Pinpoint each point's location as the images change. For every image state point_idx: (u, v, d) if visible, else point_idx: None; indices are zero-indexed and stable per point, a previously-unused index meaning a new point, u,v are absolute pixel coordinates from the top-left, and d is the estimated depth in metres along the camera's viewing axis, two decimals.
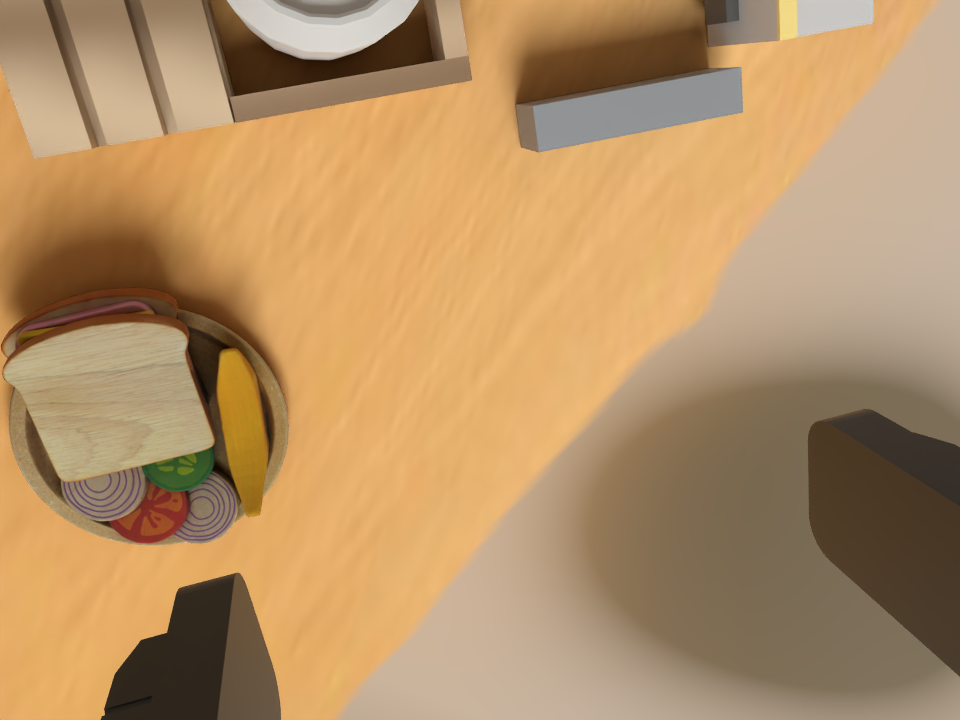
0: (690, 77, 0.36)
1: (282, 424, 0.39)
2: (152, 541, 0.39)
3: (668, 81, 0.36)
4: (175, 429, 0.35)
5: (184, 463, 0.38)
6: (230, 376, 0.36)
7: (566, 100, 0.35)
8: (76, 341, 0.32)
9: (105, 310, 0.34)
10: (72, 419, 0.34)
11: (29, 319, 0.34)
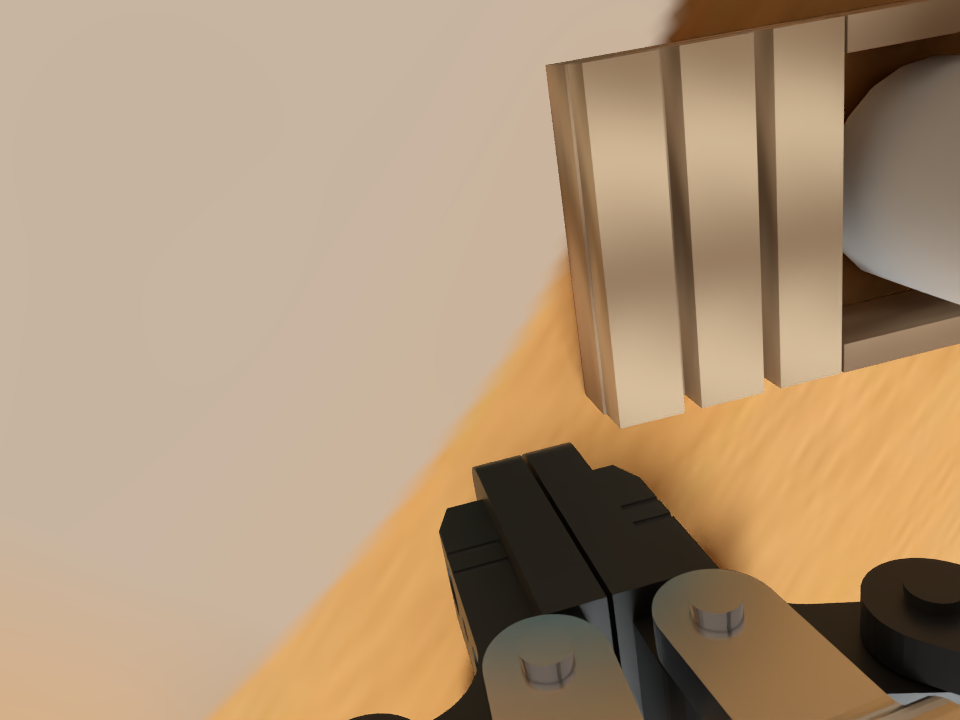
0: None
1: None
2: None
3: None
4: None
5: None
6: None
7: None
8: None
9: None
10: None
11: None
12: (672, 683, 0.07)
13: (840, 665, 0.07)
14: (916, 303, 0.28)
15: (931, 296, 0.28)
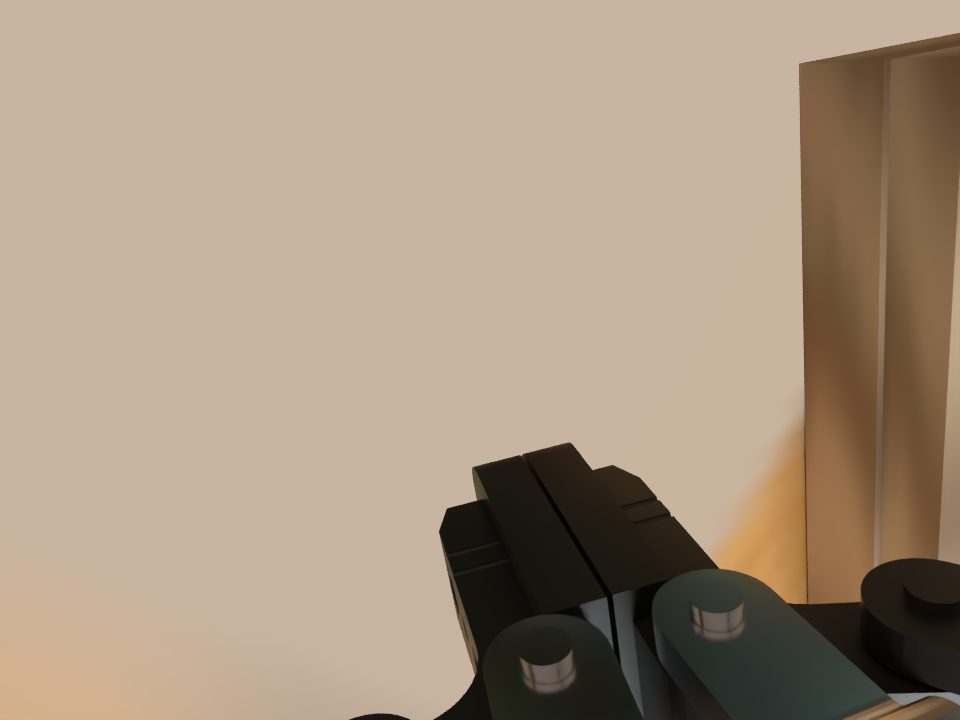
0: None
1: None
2: None
3: None
4: None
5: None
6: None
7: None
8: None
9: None
10: None
11: None
12: (672, 683, 0.07)
13: (840, 665, 0.07)
14: None
15: None
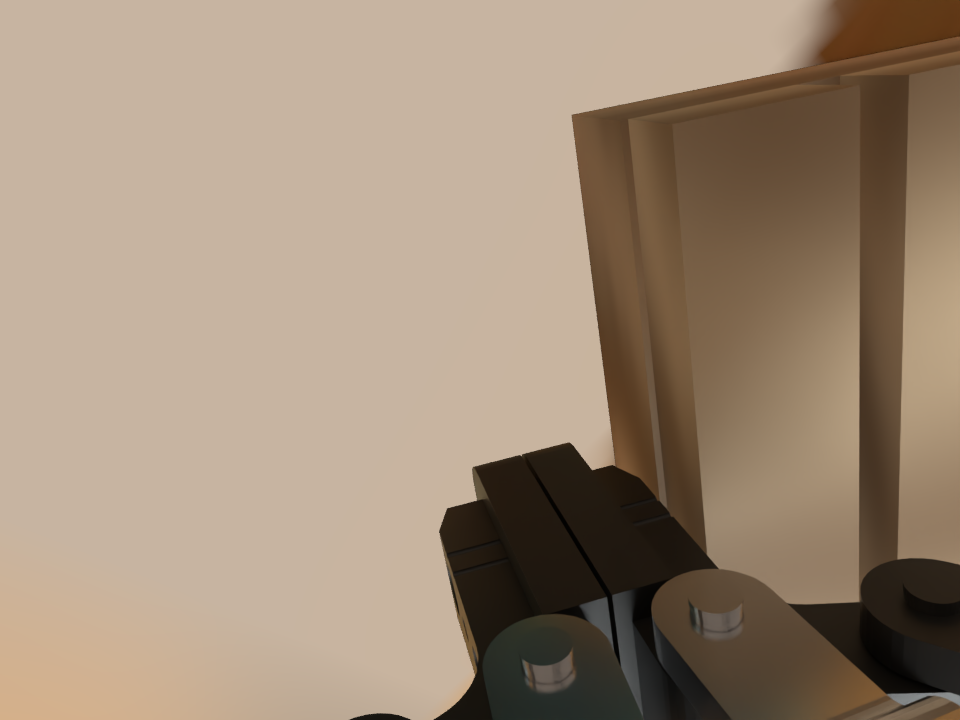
0: None
1: None
2: None
3: None
4: None
5: None
6: None
7: None
8: None
9: None
10: None
11: None
12: (672, 683, 0.07)
13: (840, 665, 0.07)
14: None
15: None
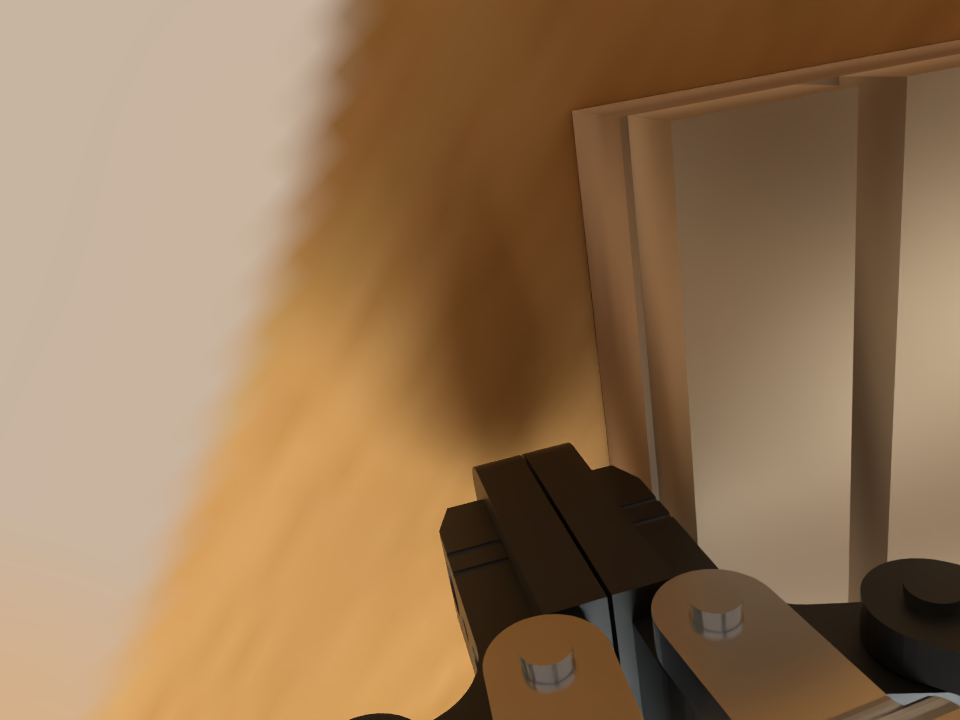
0: None
1: None
2: None
3: None
4: None
5: None
6: None
7: None
8: None
9: None
10: None
11: None
12: (671, 684, 0.07)
13: (839, 666, 0.07)
14: None
15: None
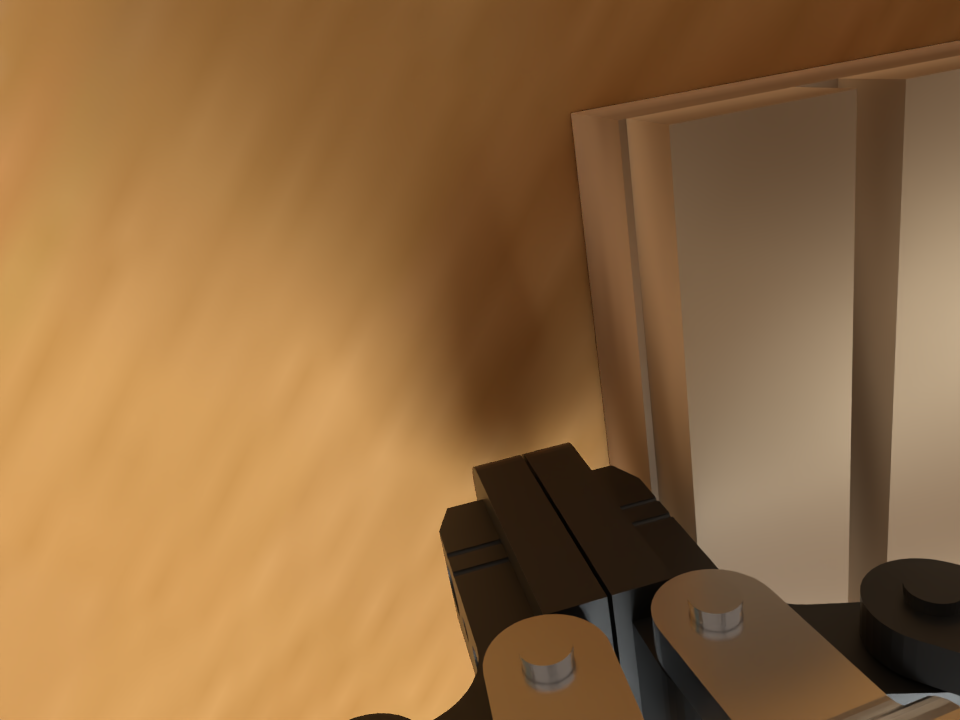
0: None
1: None
2: None
3: None
4: None
5: None
6: None
7: None
8: None
9: None
10: None
11: None
12: (671, 684, 0.07)
13: (839, 666, 0.07)
14: None
15: None
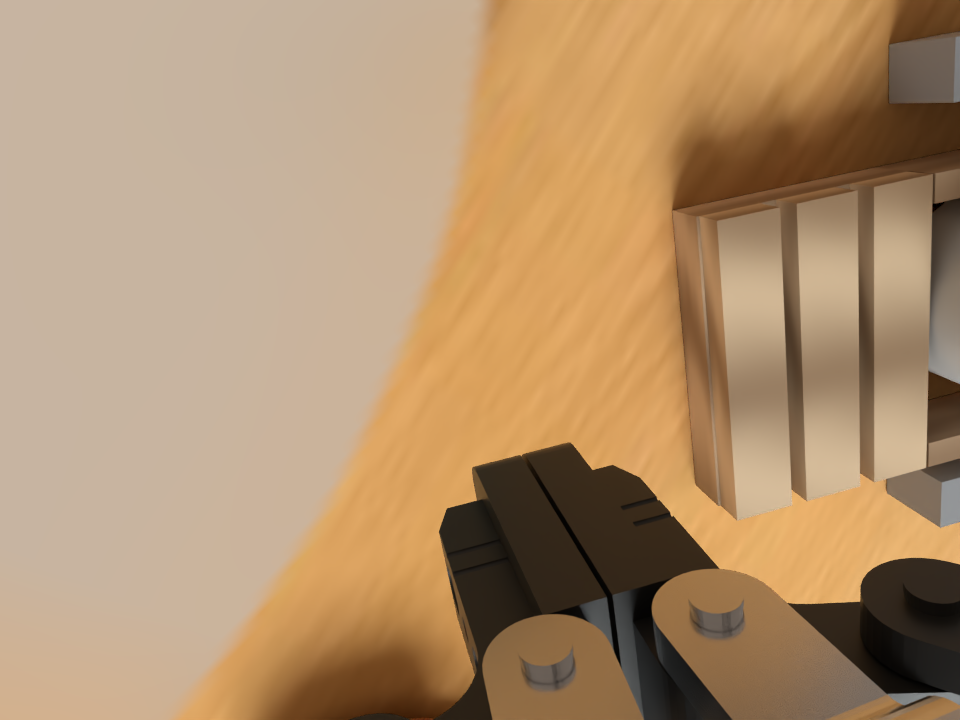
0: None
1: None
2: None
3: None
4: None
5: None
6: None
7: None
8: None
9: None
10: None
11: None
12: (672, 683, 0.07)
13: (840, 665, 0.07)
14: None
15: None
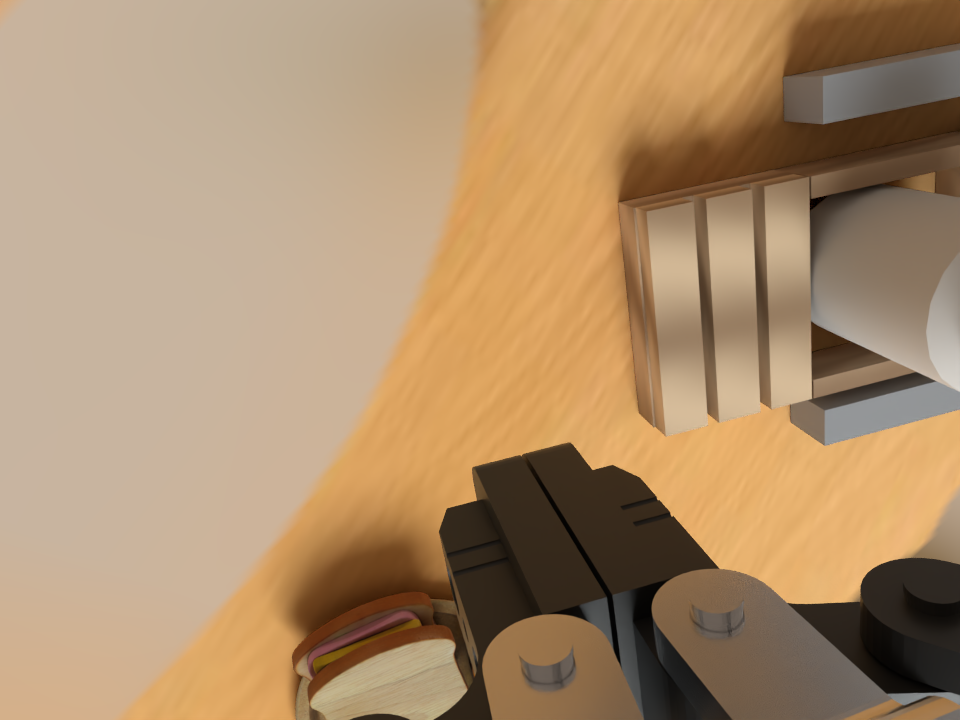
0: None
1: None
2: None
3: (936, 381, 0.41)
4: None
5: None
6: None
7: (851, 403, 0.40)
8: (367, 667, 0.37)
9: (379, 625, 0.39)
10: None
11: (315, 642, 0.39)
12: (672, 684, 0.07)
13: (840, 666, 0.07)
14: (864, 350, 0.41)
15: None
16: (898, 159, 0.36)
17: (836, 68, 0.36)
